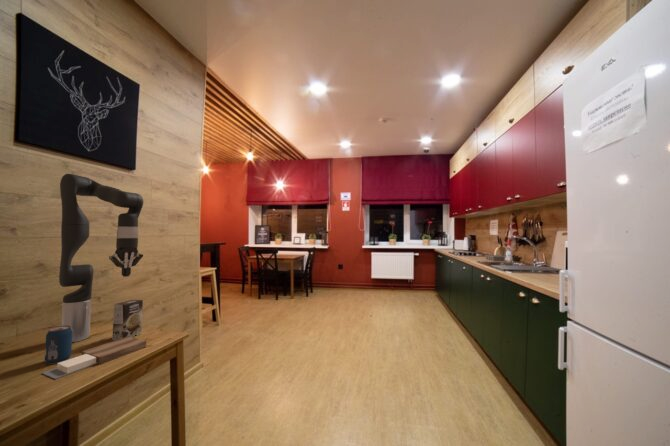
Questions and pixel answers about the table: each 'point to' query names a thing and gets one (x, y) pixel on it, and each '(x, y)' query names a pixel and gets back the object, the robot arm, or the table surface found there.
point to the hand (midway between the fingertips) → (125, 276)
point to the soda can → (58, 344)
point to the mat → (61, 372)
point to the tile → (76, 363)
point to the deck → (115, 349)
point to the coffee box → (127, 319)
